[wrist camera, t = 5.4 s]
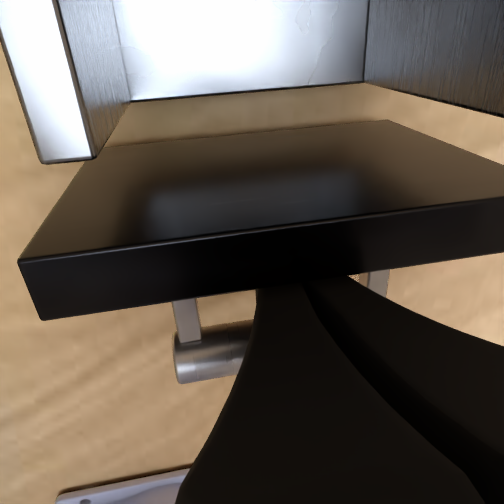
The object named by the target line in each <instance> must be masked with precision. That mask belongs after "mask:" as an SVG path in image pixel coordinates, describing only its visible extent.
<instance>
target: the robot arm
mask: <svg viewBox="0 0 504 504" xmlns="http://www.w3.org/2000/svg"><path fill="white" fill-rule="evenodd" d="M255 290H256V310H255V315H254V321H253V326H252V330H251V334H250V338H249V342H248V345H247V348H246V352H245V355H244V358H243V361H242V363H241V366H240V369H239V372H238V374H237V377H236V380H235V382H234V385H233V387H232V390H231V392H230V394H229V396H228V398H227V401H226V403H225V405H224V407H223V409H222V411H221V413H220V415H219V417H218V419H217V421H216V423H215V425H214V428H213V430H212V431H211V433H210V435H209V437H208V439H207V441H206V442H205V444H204V446H203V448H202V449H201V451H200V453H199V454H198V456H197V458H196V460H195V461H194V463H193V465H192V466H191V468H188V469H183V470H178V471H173V472H168V473H163V474H158V475H153V476H148V477H143V478H138V479H133V480H129V481H124V482H119V483H114V484H109V485H104V486H99V487H94V488H89V489H84V490H79V491H74V492H69V493H64V494H61V495H59V496H58V497H57V498H56V501H55V504H504V346H501V345H498V344H495V343H492V342H489V341H486V340H484V339H481V338H478V337H475V336H472V335H469V334H466V333H464V332H461V331H458V330H456V329H453V328H451V327H448V326H445V325H443V324H441V323H438V322H436V321H434V320H431V319H429V318H427V317H425V316H422V315H420V314H418V313H415V312H413V311H411V310H409V309H407V308H405V307H403V306H401V305H399V304H397V303H395V302H393V301H391V300H389V299H387V298H385V297H383V296H382V295H380V294H378V293H376V292H374V291H372V290H371V289H369V288H367V287H365V286H364V285H362V284H360V283H359V282H357V281H355V280H354V279H352V278H350V277H349V276H341V277H335V278H328V279H321V280H315V281H308V282H301V283H294V284H288V285H281V286H274V287H268V288H261V289H255Z"/></svg>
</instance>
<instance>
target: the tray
mask: <svg viewBox="0 0 504 504" xmlns="http://www.w3.org/2000/svg"><path fill="white" fill-rule="evenodd" d="M0 42H1V45H2V49H3V52H4V55H5V58H6V61H7V64H8V67H9V70H10V73H11V76H12V79H13V82H14V85H15V88H16V91H17V94H18V97H19V100H20V103H21V107H22V110H23V113H24V116H25V119H26V122H27V125H28V128H29V131H30V134H31V137H32V140H33V143H34V146H35V149H36V152H37V155H38V158H39V160H40V162H41V163H42V164H46V165H50V164H60V163H70V162H80V161H85V162H84V164H83V165H82V167H81V168H80V170H79V171H78V172H77V174H76V175H75V177H74V178H73V180H72V181H71V183H70V184H69V186H68V187H67V188H66V190H65V191H64V193H63V194H62V196H61V197H60V199H59V200H58V201H57V203H56V204H55V206H54V207H53V209H52V210H51V212H50V213H49V215H48V216H47V217H46V219H45V220H44V222H43V223H42V225H41V226H40V228H39V229H38V230H37V232H36V233H35V235H34V236H33V238H32V239H31V241H30V242H29V244H28V245H27V246H26V248H25V249H24V251H23V252H22V254H21V255H20V257H19V258H18V260H17V263H18V266H19V269H20V271H21V273H22V276H23V278H24V281H25V283H26V286H27V288H28V291H29V293H30V295H31V298H32V300H33V303H34V305H35V308H36V310H37V313H38V315H39V318H40V319H41V320H42V321H46V320H53V319H60V318H66V317H73V316H80V315H86V314H93V313H100V312H107V311H113V310H120V309H127V308H133V307H140V306H147V305H153V304H160V303H167V302H172V307H173V312H174V317H175V322H176V328H177V331H175V332H174V333H173V336H172V349H173V360H174V367H175V373H176V378H177V381H178V383H179V384H186V383H192V382H197V381H203V380H209V379H214V378H220V377H226V376H232V375H237V374H238V372H239V369H240V366H241V363H242V361H243V358H244V355H245V352H246V348H247V345H248V342H249V338H250V334H251V330H252V326H253V321H254V319H251V320H244V321H238V322H232V323H225V324H219V325H213V326H206V327H201V321H200V314H199V308H198V301H197V298H200V297H207V296H214V295H221V294H227V293H234V292H241V291H247V290H254V289H261V288H268V287H274V286H281V285H288V284H294V283H301V282H308V281H315V280H321V279H328V278H335V277H341V276H348V275H355V274H359V283H360V284H362V285H364V286H365V287H367V288H369V289H371V290H372V291H374V292H376V293H378V294H380V295H382V296H383V297H385V298H386V294H387V286H388V279H389V271H390V269H395V268H402V267H409V266H415V265H422V264H429V263H435V262H442V261H449V260H456V259H462V258H469V257H476V256H482V255H489V254H496V253H503V252H504V165H502V164H499V163H497V162H494V161H491V160H489V159H486V158H484V157H481V156H479V155H476V154H474V153H471V152H469V151H466V150H464V149H461V148H458V147H456V146H453V145H451V144H448V143H446V142H443V141H441V140H438V139H436V138H433V137H431V136H428V135H425V134H423V133H420V132H418V131H415V130H413V129H410V128H408V127H405V126H403V125H400V124H398V123H395V122H393V121H390V120H379V121H369V122H358V123H348V124H338V125H328V126H318V127H308V128H298V129H287V130H277V131H267V132H257V133H247V134H237V135H227V136H216V137H206V138H196V139H186V140H176V141H166V142H155V143H145V144H135V145H125V146H115V147H105V148H103V147H104V145H105V143H106V142H107V140H108V139H109V137H110V135H111V134H112V132H113V130H114V129H115V127H116V126H117V124H118V122H119V121H120V119H121V117H122V116H123V114H124V113H125V111H126V109H127V108H128V106H129V104H130V103H137V102H148V101H160V100H172V99H183V98H195V97H207V96H218V95H230V94H242V93H254V92H265V91H277V90H289V89H300V88H312V87H324V86H335V85H347V84H359V83H366V84H370V85H374V86H378V87H382V88H386V89H390V90H394V91H398V92H402V93H406V94H410V95H414V96H418V97H422V98H426V99H430V100H434V101H438V102H442V103H446V104H450V105H454V106H458V107H462V108H465V109H469V110H473V111H477V112H481V113H485V114H489V115H493V116H497V117H501V118H504V0H0Z"/></svg>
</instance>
